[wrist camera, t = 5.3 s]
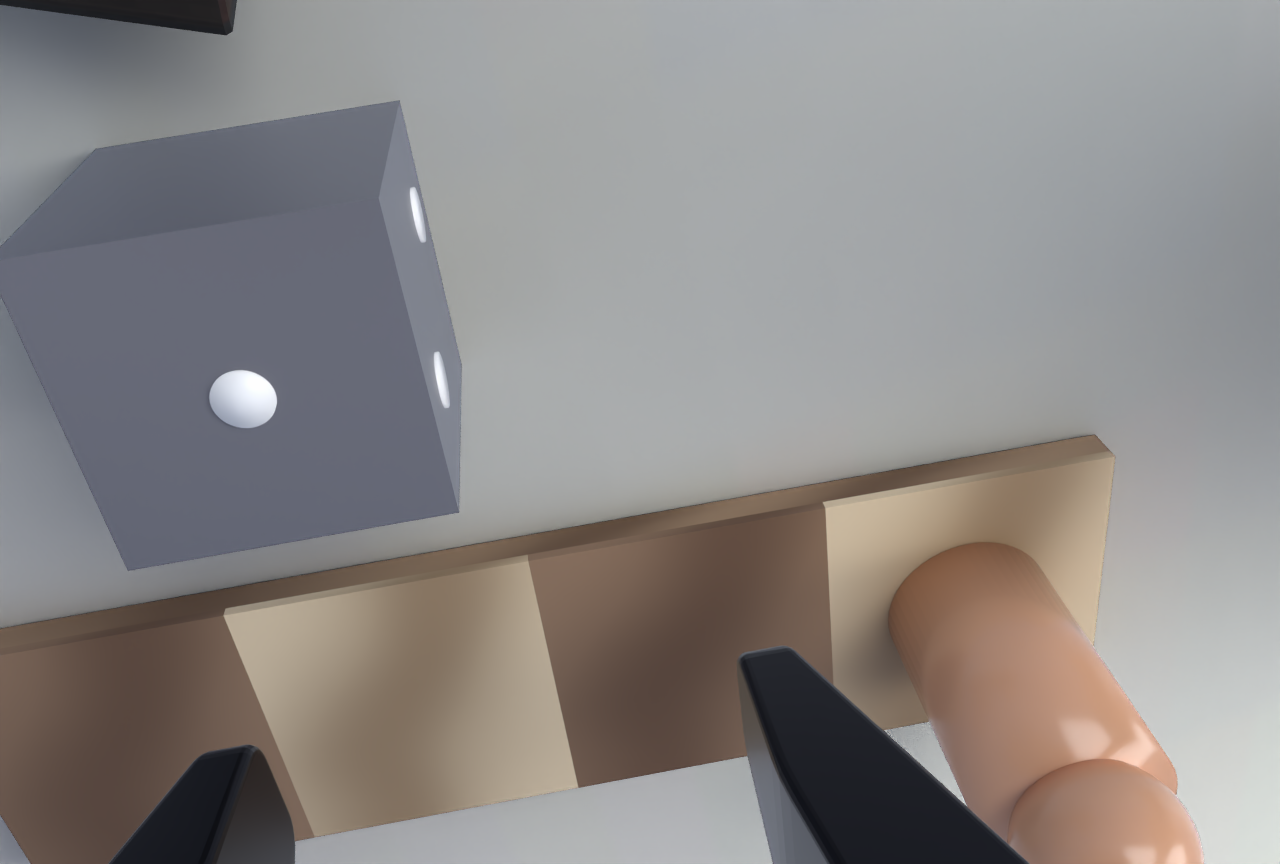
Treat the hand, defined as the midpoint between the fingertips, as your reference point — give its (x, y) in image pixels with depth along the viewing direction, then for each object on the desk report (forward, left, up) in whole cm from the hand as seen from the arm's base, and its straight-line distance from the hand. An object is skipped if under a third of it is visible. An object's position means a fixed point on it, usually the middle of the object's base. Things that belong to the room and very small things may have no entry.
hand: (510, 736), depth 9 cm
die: (+3, 0, -11) cm, 12 cm away
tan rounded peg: (-8, +9, -10) cm, 16 cm away
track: (0, +9, -11) cm, 14 cm away
